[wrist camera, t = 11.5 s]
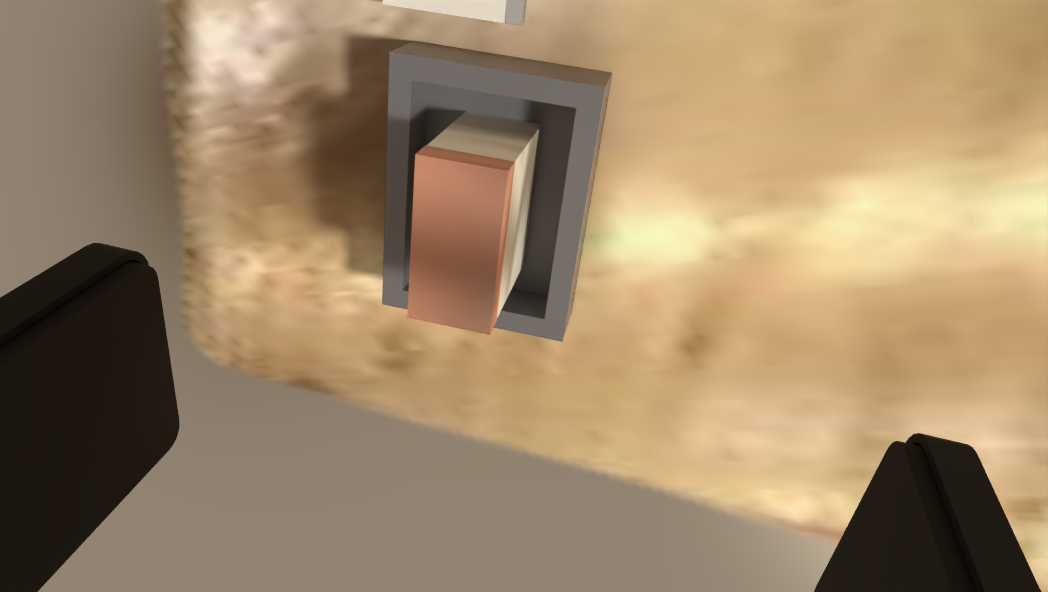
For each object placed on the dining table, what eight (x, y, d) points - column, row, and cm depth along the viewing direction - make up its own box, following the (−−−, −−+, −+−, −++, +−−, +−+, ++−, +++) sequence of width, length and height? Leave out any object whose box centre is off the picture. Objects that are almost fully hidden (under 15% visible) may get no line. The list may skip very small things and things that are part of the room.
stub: (466, 110, 33) (415, 154, 27) (542, 123, 33) (508, 171, 27) (454, 250, 37) (407, 317, 31) (524, 264, 36) (489, 335, 30)
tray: (413, 40, 33) (389, 52, 30) (612, 73, 32) (604, 87, 29) (403, 277, 39) (382, 304, 36) (571, 312, 38) (562, 341, 35)
